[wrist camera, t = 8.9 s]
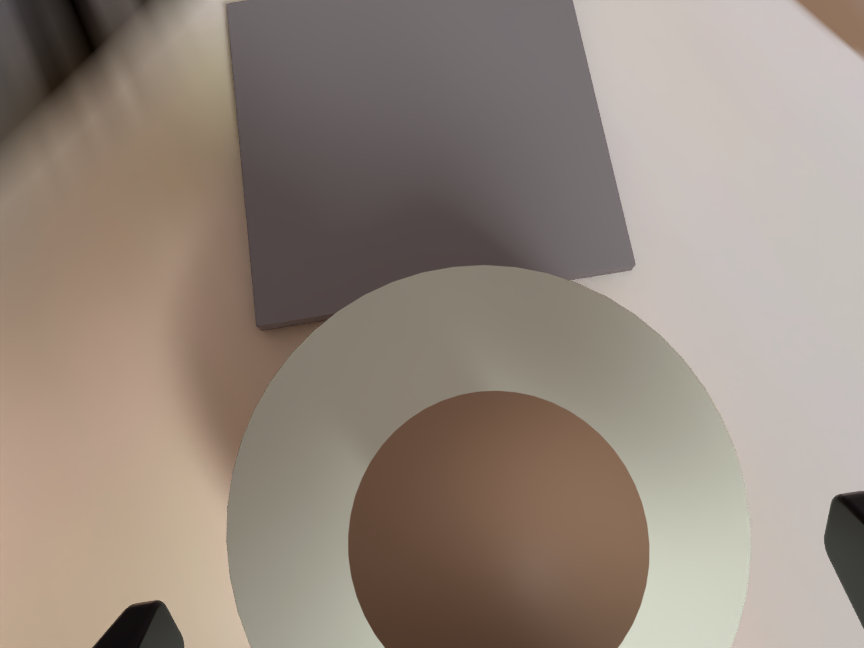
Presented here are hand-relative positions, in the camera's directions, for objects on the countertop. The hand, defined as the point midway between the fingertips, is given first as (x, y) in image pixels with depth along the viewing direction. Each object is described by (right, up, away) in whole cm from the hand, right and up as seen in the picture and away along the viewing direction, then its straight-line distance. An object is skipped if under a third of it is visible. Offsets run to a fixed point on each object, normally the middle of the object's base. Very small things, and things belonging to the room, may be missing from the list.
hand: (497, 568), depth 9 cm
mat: (-1, +10, +15) cm, 19 cm away
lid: (0, -1, +7) cm, 8 cm away
